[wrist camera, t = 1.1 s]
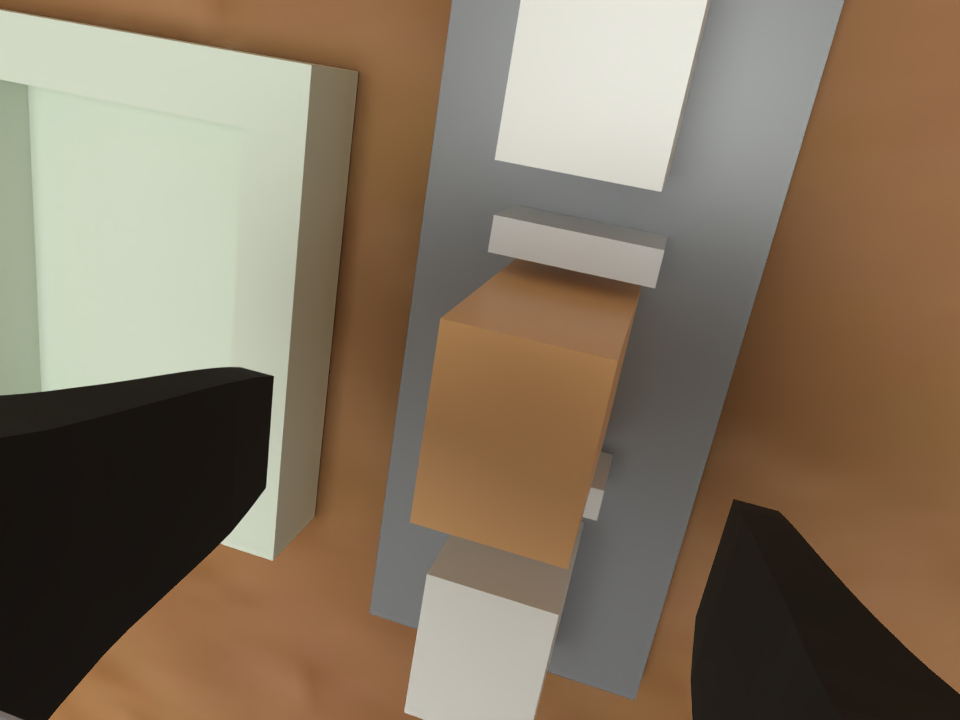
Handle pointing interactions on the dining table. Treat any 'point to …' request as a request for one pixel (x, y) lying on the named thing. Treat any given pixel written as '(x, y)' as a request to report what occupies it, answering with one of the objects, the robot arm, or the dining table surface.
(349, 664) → the dining table surface
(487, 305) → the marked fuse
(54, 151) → the tray
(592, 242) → the block
